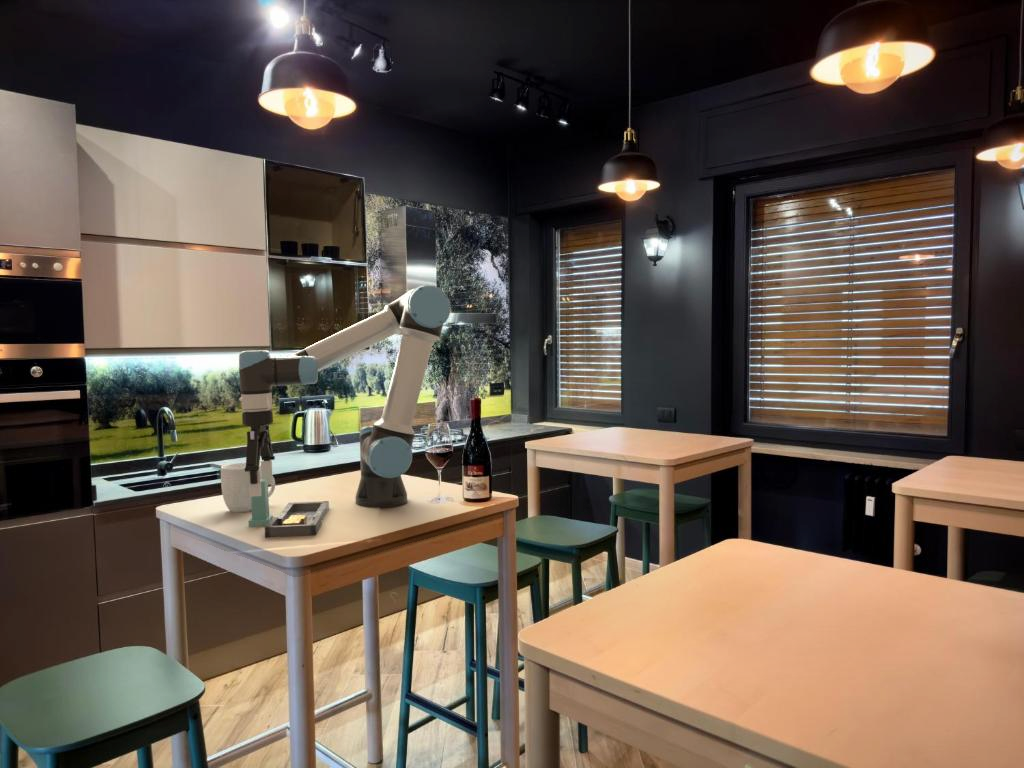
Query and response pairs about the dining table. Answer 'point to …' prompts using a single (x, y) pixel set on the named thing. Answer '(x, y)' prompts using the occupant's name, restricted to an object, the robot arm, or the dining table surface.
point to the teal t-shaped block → (261, 507)
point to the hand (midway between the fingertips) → (261, 490)
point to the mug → (238, 487)
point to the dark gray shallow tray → (304, 510)
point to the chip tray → (292, 528)
